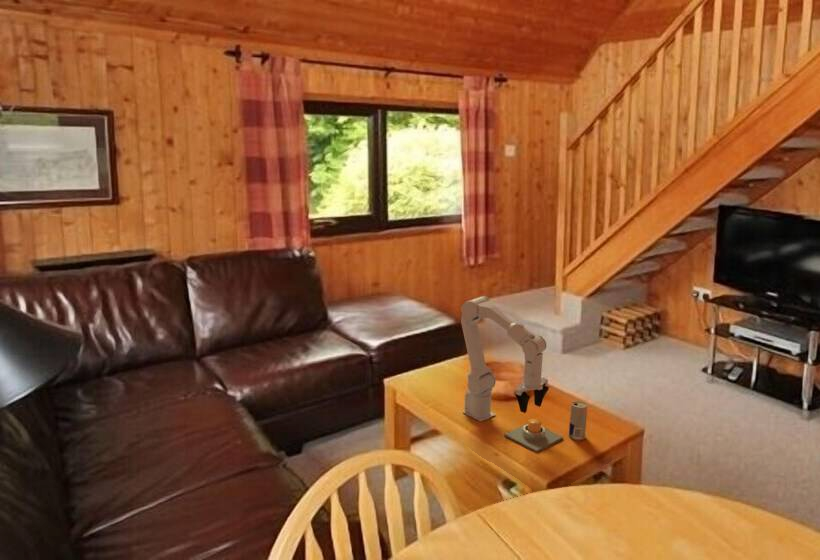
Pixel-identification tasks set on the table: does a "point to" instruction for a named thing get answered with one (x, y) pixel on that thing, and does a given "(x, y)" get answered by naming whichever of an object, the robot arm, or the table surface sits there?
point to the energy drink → (578, 420)
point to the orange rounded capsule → (534, 426)
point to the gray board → (533, 445)
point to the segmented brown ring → (533, 434)
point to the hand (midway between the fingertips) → (530, 408)
